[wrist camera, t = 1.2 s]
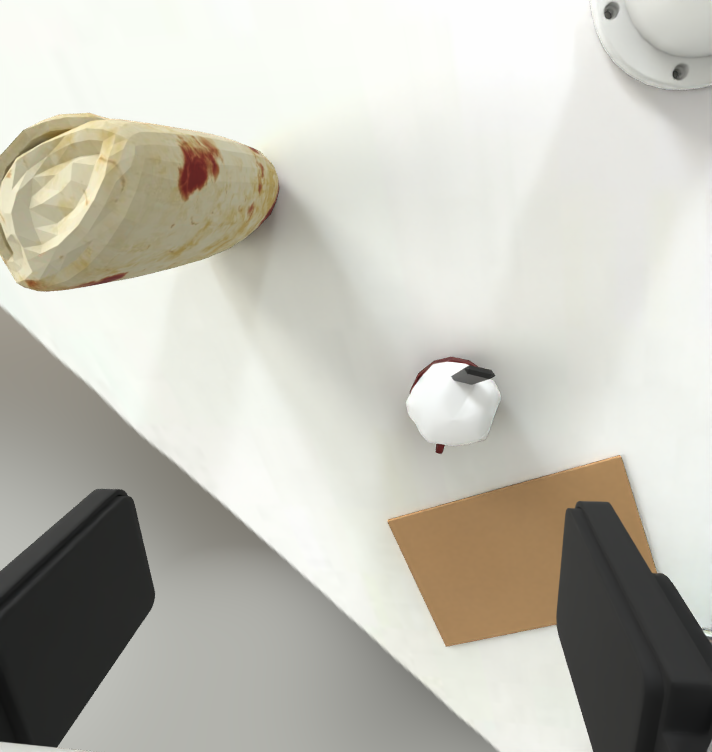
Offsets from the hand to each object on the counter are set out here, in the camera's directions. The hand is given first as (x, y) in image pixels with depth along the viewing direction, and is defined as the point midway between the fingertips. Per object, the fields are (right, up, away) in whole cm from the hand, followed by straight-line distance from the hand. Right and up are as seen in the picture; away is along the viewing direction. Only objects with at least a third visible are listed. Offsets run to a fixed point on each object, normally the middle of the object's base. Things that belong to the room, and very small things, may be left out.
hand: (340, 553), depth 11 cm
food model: (-8, +17, +27) cm, 33 cm away
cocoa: (+8, +4, +29) cm, 31 cm away
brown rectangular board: (+15, -12, +34) cm, 39 cm away
